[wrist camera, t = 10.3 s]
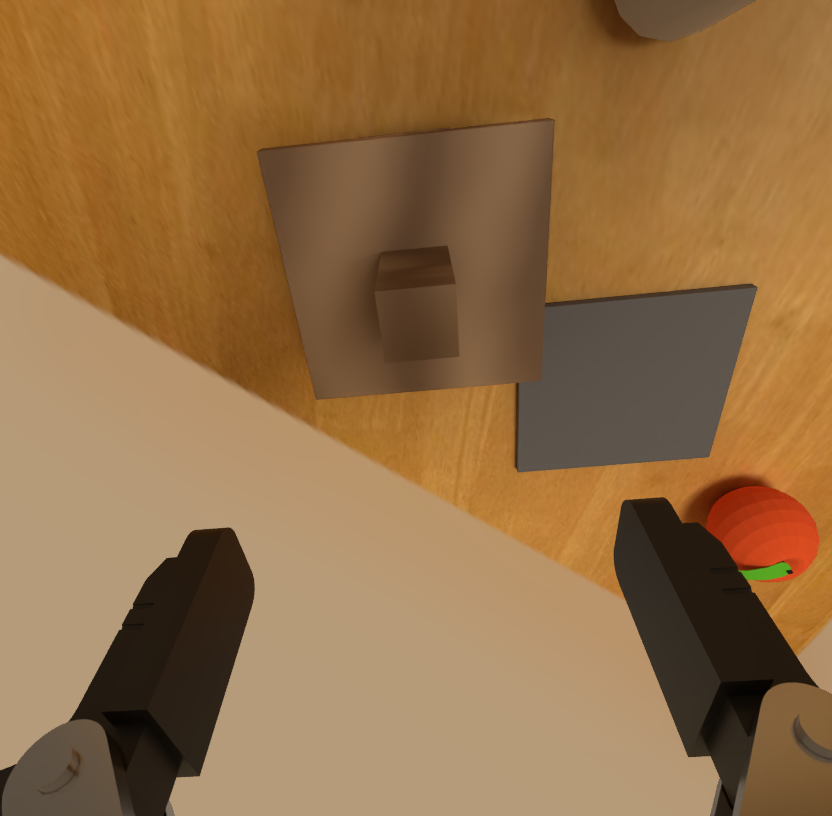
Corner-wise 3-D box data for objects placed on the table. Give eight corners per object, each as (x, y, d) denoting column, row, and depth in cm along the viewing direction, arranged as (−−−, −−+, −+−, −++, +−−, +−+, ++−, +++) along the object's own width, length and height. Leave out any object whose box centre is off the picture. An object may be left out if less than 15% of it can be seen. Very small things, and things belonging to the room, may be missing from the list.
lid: (548, 118, 21) (592, 131, 16) (537, 371, 27) (565, 437, 22) (262, 148, 21) (217, 171, 16) (319, 389, 28) (299, 459, 23)
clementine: (681, 542, 43) (724, 617, 37) (671, 486, 40) (717, 559, 34) (781, 516, 42) (843, 590, 36) (780, 456, 38) (849, 526, 32)
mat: (751, 283, 30) (757, 287, 30) (704, 451, 38) (708, 457, 37) (518, 305, 31) (520, 309, 31) (516, 467, 38) (517, 472, 38)
